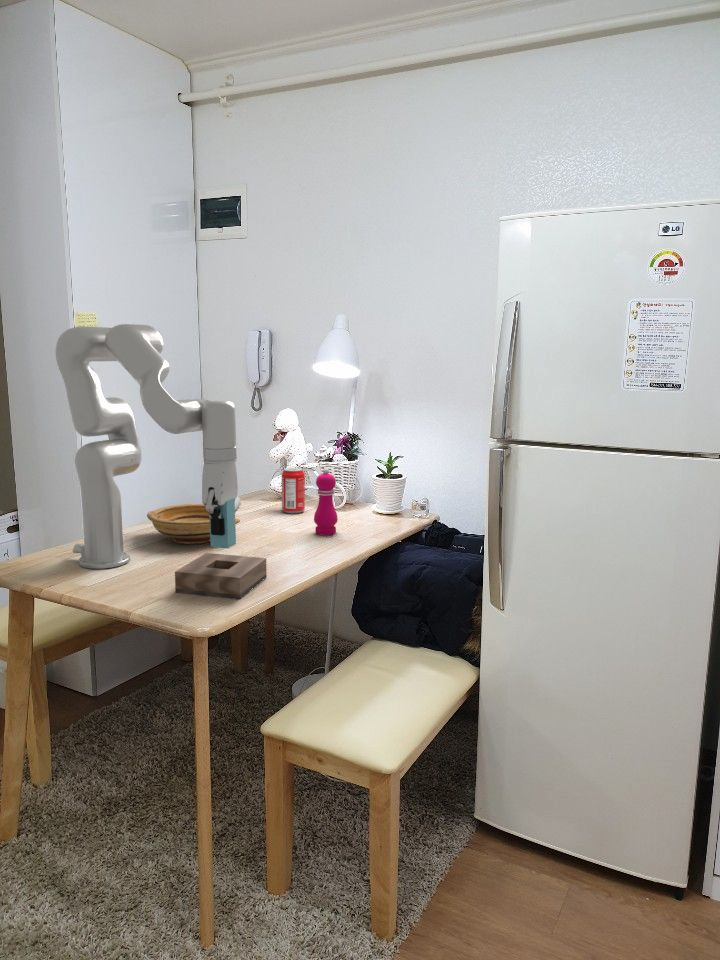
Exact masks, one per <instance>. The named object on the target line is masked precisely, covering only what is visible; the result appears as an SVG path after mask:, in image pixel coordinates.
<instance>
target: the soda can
mask: <svg viewBox="0 0 720 960" xmlns="http://www.w3.org/2000/svg"><path fill="white" fill-rule="evenodd" d="M305 484H306V474H305V472H304V469H303V468H302V467H285V468H283V471H282V473H281V510H282V511H283V512H284V513H286V514H289V513H290V514H289V515H291V514H292V515H294V514H295V515H296V514H300V513H302V512H304V511H305V510H306V508H305V507H306V502H305V501H306V493H305V492H306V485H305Z"/></svg>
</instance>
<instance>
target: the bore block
mask: <svg viewBox="0 0 720 960" xmlns="http://www.w3.org/2000/svg"><path fill="white" fill-rule="evenodd" d="M267 576H268V575H267V557H256V556H245V555H235V554H222V553H214V552H213V553H212V552H211V553H210V552H205V553H204V554H202V555H200V556H198V557H197V558H195V559H194V560H192V561H190V562H189V563H187V564H185V565H183V566H182V567H180V568H178V569H177V570H175V571H174V584H175V585H174V587H175V591H174V592H175V593H176V594H185V595H186V594H187V595H195V596H204V597H216V598H227V599H233V598H235V599H234V600H241V599H243V598H244V597H245V596H246V595H247V594H248V593H250V592H251V591H252V590H253V589H255V588H256V587H257V586H258V585H260V584H261V583H262V582H263V581H264V580H263V579H265V578H266V577H267ZM266 579H267V578H266ZM266 579H265V580H266ZM262 580H263V581H262ZM261 581H262V582H261ZM260 582H261V583H260ZM259 583H260V584H259ZM257 584H258V585H257ZM256 585H257V586H256ZM255 586H256V587H255ZM254 587H255V588H254ZM252 588H253V589H252ZM251 589H252V590H251ZM250 590H251V591H250ZM249 591H250V592H249ZM245 594H246V595H245ZM244 595H245V596H244Z"/></svg>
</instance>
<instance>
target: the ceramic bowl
mask: <svg viewBox="0 0 720 960" xmlns="http://www.w3.org/2000/svg"><path fill="white" fill-rule="evenodd" d="M146 517H147V519H148V520H149V521H150V522H151V523H152V525H153V527H154V528H155V530H156V531H158V532H159V534H162V535H163V536H166V537H169V538H172V539H173V540H174V542H176V543H178V542H179V544H183V543H198V544H203V543H202V542H204V543H207V542H206V541H208V542H210V541H209V540H210V517H209V512H208V511H207V510H206V505H204V504H203V503H187V504H176V505H170V506H165V507H161V508H157V509H156V510H155V509H154V510H151V511H148V512H147V513H146ZM240 522H241V519H240V518H235V525H237V524H239V523H240Z"/></svg>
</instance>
